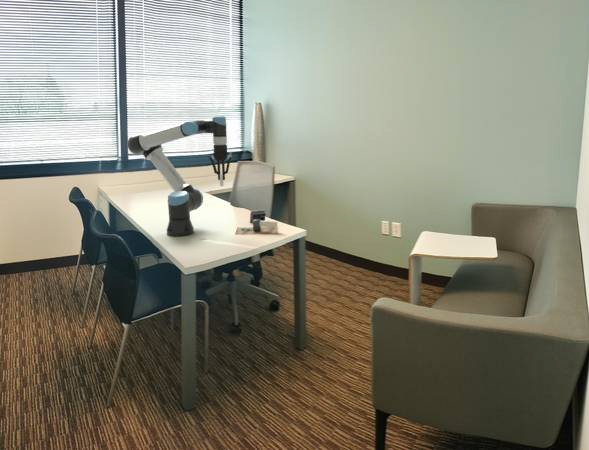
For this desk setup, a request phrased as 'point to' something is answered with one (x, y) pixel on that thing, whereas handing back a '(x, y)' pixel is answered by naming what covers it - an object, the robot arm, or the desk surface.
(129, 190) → the desk surface
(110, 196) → the desk surface
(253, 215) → the electrical switch
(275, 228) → the board
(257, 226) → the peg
